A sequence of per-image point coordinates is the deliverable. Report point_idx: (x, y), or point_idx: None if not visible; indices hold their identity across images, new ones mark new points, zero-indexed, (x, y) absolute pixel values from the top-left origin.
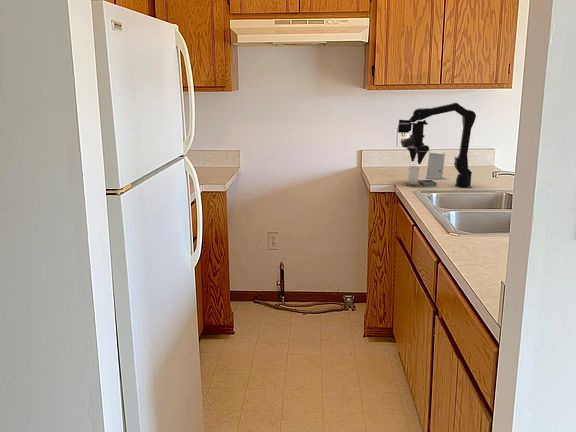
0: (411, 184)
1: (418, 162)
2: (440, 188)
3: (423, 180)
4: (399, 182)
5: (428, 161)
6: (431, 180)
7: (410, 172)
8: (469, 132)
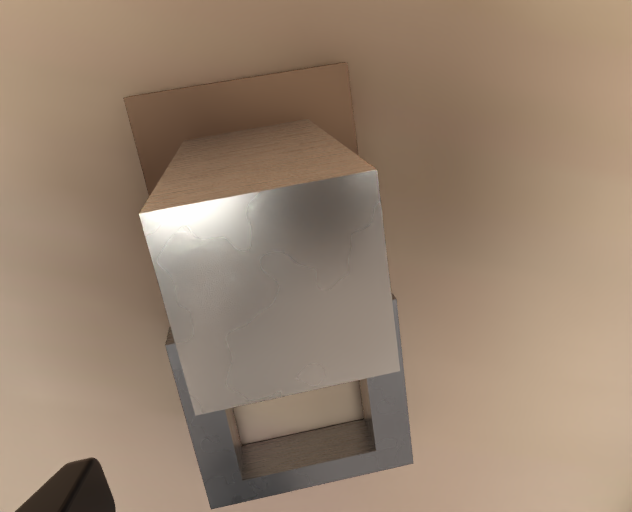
0: None
1: (29, 503)
2: None
3: None
4: (471, 8)
5: None
6: (357, 464)
7: (229, 166)
8: None
